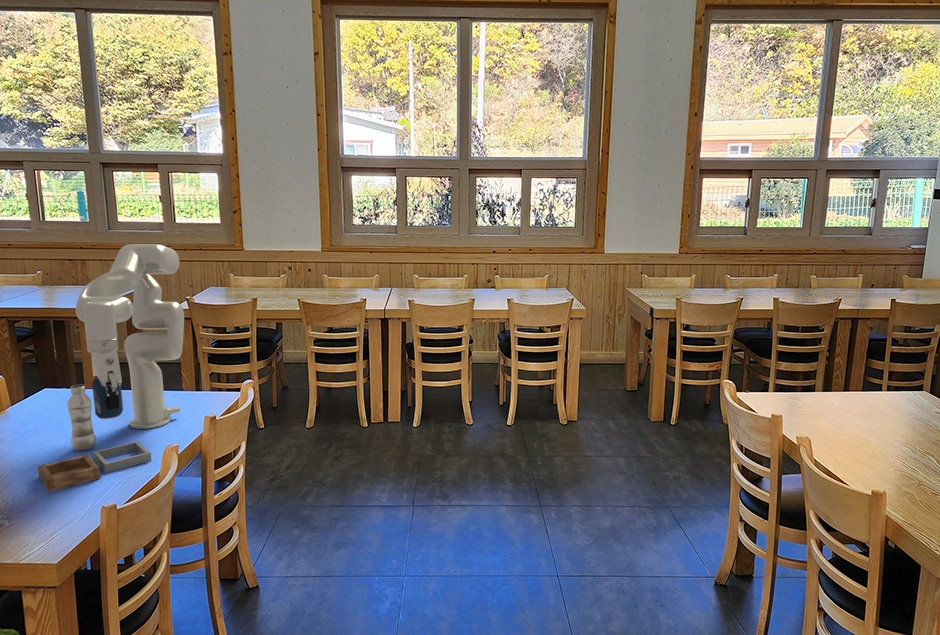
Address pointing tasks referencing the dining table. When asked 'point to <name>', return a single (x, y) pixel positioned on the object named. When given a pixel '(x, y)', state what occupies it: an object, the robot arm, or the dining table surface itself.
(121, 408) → the soda can
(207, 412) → the dining table surface
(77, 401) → the pale grey bottle
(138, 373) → the robot arm
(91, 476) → the walnut holder
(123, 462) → the grey square frame
